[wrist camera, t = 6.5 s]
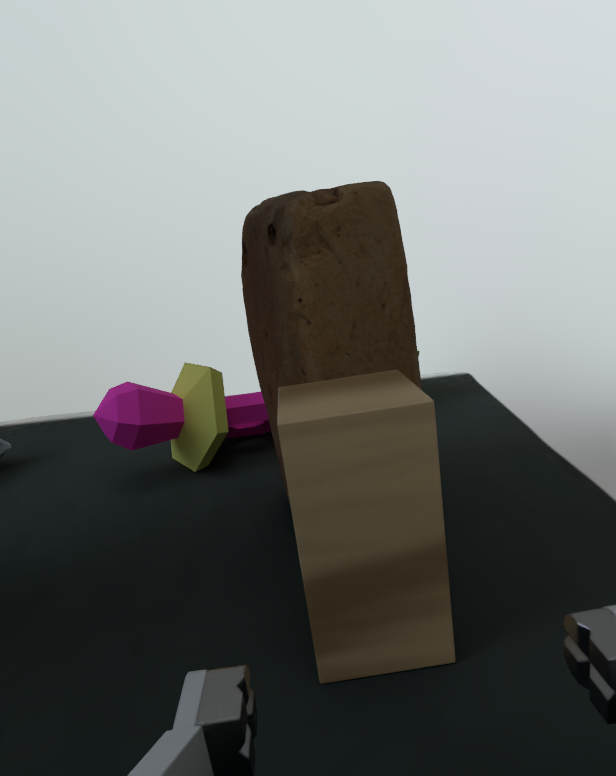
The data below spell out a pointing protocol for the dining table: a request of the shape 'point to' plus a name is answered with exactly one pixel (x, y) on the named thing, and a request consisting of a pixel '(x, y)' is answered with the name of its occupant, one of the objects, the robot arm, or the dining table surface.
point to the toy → (182, 415)
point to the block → (326, 290)
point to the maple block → (368, 523)
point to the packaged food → (4, 447)
